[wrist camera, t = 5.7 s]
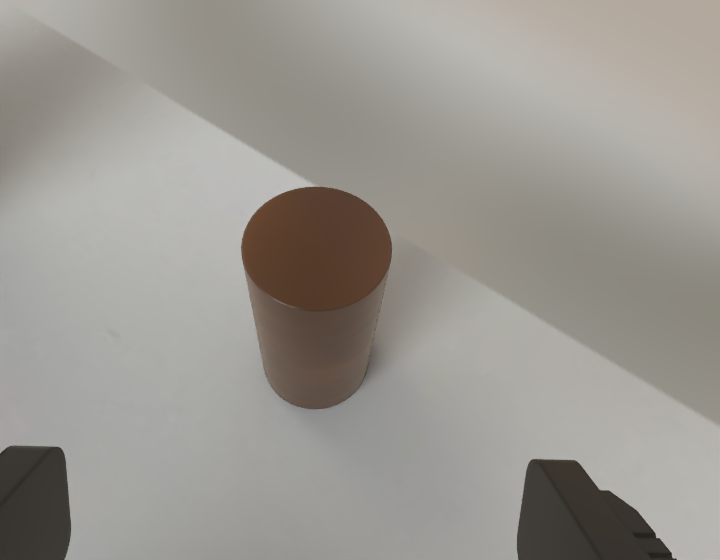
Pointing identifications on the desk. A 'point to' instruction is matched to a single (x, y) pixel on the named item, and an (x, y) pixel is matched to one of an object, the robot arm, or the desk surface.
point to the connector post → (316, 291)
